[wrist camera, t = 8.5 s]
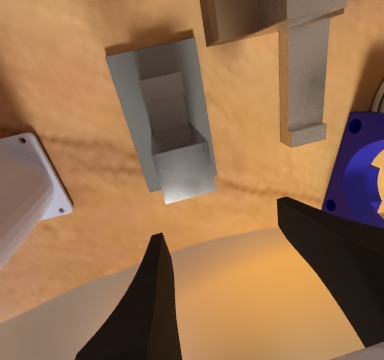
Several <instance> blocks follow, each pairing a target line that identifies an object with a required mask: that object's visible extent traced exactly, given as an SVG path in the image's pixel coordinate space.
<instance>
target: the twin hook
mask: <svg viewBox="0 0 384 360" xmlns="http://www.w3.org/2000/svg"><path fill="white" fill-rule="evenodd" d="M346 6H347V0H257V7H258V28H259V32H257V33H254V34H252V35H250V36H247V37H245V38H243V39H246V38H251V37H256V36H260V35H265V34H270V33H274V32H279V73H280V141H281V143H283V144H285V145H287V146H289V147H291V148H293V147H297V146H300V145H304V144H308V143H312V142H316V141H320V140H324V139H326V128H327V124H326V123H322V119H323V106H324V92H325V78H326V64H327V50H328V36H329V22H330V18H328V19H326V20H323V21H318V22H314V23H309V24H305V25H300V26H295V25H298V24H301V23H303V22H306V21H309V20H312V19H314V18H317V17H320V16H322V15H325V14H328V13H331V12H333V11H336V10H339V9H342V8H344V7H346ZM292 26H295V27H292ZM290 27H291V28H290ZM240 40H242V39H240Z"/></svg>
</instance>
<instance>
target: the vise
mask: <svg viewBox="0 0 384 360" xmlns="http://www.w3.org/2000/svg"><path fill="white" fill-rule="evenodd" d="M200 5H201V12H202V19H203V26H204V32H205V39H206V46H207V47H209V46H214V45H219V44H223V43H228V42H233V41H237V40H240V39H243V38H245V37H247V36H250V35H252V34H254V33H257V32H259V28H258V7H257V0H200ZM343 13H344V8H342V9H339V10H336V11H333V12H331V13H328V14H325V15H322V16H320V17H317V18H314V19H312V20H309V21H306V22H303V23H301V24H298V25H295V26H300V25H305V24H309V23H314V22H318V21H323V20H326V19H328V18H331V17H334V16H337V15H340V14H343ZM295 26H292V27H295ZM290 28H291V27H290Z"/></svg>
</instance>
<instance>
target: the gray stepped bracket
mask: <svg viewBox="0 0 384 360" xmlns="http://www.w3.org/2000/svg"><path fill="white" fill-rule="evenodd" d="M138 82H139V86H140V89H141V93H142V96H143V100H144V103H146V107H147V110H148V114H149V118H150V121H151V125H152V128H153V130H151V155H152V159H153V162H154V165H155V169H156V172H157V175H158V179H159V182H160V185H161V189H162V192H163V195H164V199H165V202H166V204H169V203H172V202H176V201H180V200H184V199H187V198H191V197H195V196H199V195H202V194H206V193H210V192H214V191H216V185H215V179H214V173H213V167H212V161H211V156H210V150H209V144H208V141H207V140H206V139H205V138H204V137H203V135H202V134H201V133H200V132H199V131H198V130H197V129H196V128H195V127H194V126H193V125H192V124H191V123H190V122H188V117H187V112H186V107H185V102H184V97H183V94H185V89H184V84H183V78H182V73H181V72H178V73H174V74H169V75H165V76H160V77H156V78H151V79H147V80H142V81H138Z"/></svg>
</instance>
